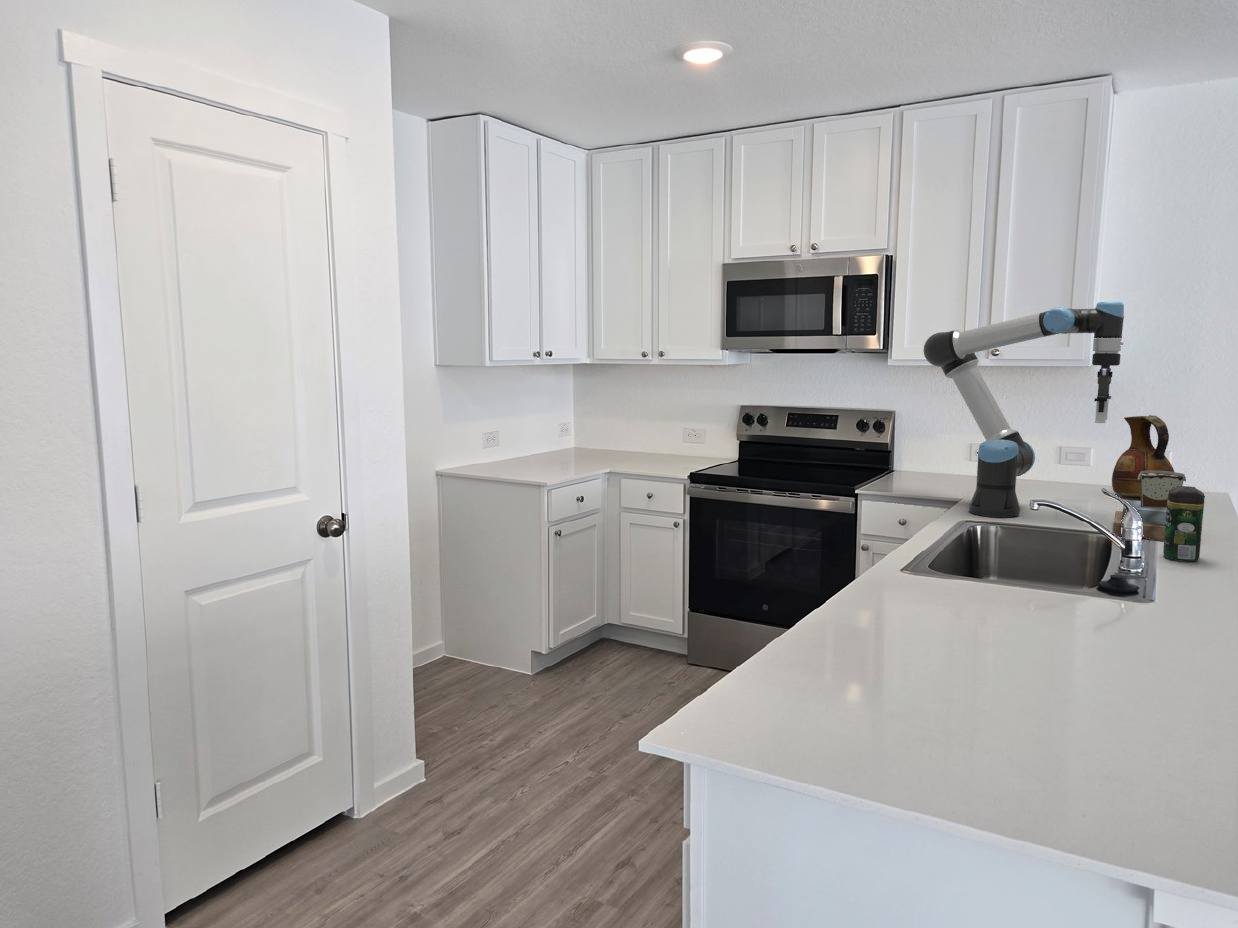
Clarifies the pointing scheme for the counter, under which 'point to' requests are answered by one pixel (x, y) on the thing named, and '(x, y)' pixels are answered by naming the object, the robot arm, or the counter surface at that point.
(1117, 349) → the robot arm
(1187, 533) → the coffee jar
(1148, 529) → the pedestal
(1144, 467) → the ceramic pitcher
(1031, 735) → the counter surface
